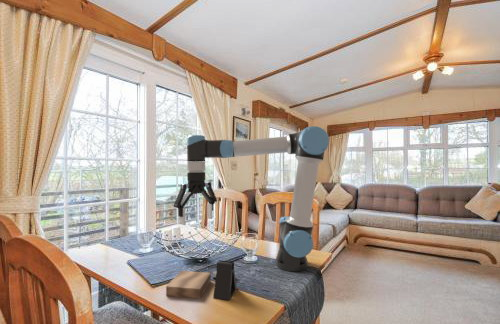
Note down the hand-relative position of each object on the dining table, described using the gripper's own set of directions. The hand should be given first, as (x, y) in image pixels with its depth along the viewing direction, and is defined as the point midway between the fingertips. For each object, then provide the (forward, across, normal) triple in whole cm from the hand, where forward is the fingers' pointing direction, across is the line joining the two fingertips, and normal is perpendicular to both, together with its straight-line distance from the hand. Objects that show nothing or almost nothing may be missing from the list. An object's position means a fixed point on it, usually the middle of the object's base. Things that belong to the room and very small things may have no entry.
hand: (196, 221), depth 107 cm
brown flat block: (+24, +7, +6) cm, 26 cm away
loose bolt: (+24, -7, +8) cm, 26 cm away
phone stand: (+24, 0, +18) cm, 31 cm away
